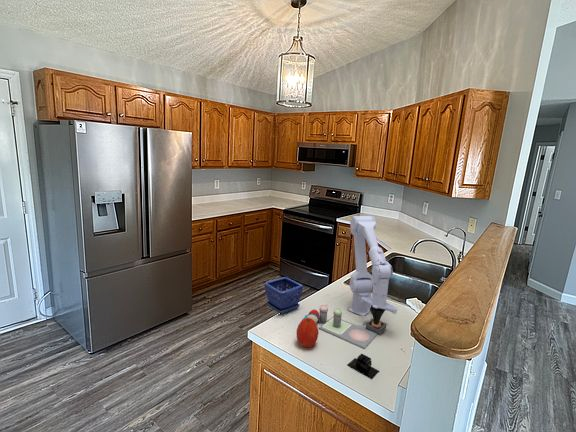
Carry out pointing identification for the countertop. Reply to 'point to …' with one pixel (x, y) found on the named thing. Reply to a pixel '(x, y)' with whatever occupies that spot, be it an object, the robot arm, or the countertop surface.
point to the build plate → (363, 366)
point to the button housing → (375, 329)
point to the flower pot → (283, 294)
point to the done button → (376, 325)
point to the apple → (307, 332)
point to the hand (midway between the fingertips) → (376, 323)
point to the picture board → (349, 333)
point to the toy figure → (313, 315)
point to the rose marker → (323, 314)
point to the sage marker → (337, 318)
